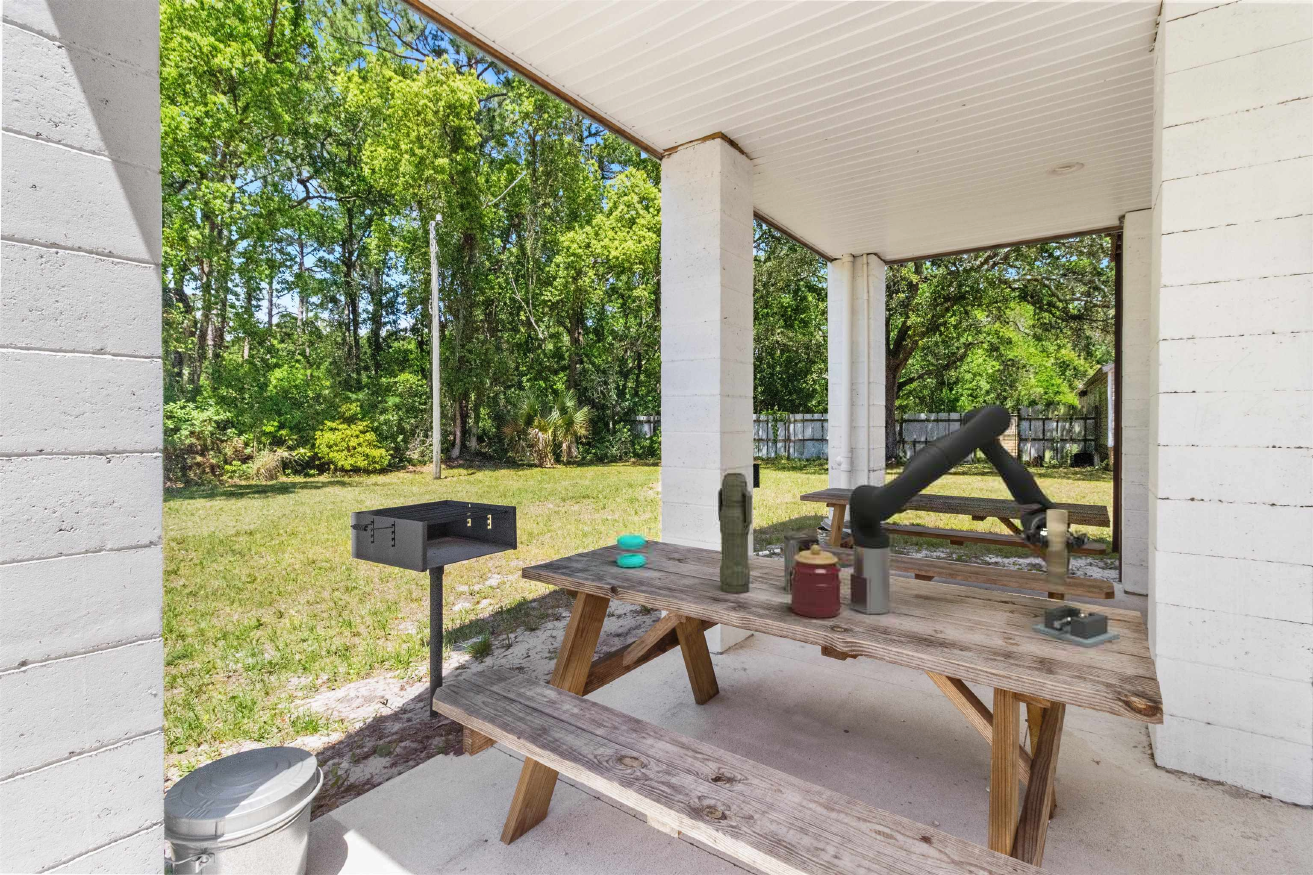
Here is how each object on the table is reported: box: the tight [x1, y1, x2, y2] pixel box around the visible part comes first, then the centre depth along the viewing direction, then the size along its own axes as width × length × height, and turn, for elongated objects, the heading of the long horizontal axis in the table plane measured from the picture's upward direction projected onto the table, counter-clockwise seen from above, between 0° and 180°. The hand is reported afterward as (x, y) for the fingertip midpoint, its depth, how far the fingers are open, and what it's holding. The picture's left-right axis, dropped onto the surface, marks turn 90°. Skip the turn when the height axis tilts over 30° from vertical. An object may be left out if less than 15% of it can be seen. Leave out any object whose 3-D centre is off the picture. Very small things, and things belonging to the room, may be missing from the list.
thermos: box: [717, 472, 753, 595], centre depth 177 cm, size 9×12×35 cm
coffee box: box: [783, 534, 820, 594], centre depth 176 cm, size 9×6×16 cm
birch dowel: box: [1045, 509, 1068, 591], centre depth 138 cm, size 4×4×18 cm
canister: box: [790, 545, 842, 619], centre depth 158 cm, size 13×13×18 cm
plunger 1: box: [1054, 617, 1071, 628], centre depth 137 cm, size 6×2×2 cm, turn 117°
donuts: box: [616, 534, 646, 568], centre depth 208 cm, size 10×10×10 cm
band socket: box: [1032, 604, 1120, 649], centre depth 140 cm, size 13×12×5 cm
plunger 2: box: [1077, 610, 1097, 619], centre depth 142 cm, size 6×2×2 cm, turn 117°
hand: (1058, 544), depth 136 cm, fingers closed on birch dowel, 4 cm apart
